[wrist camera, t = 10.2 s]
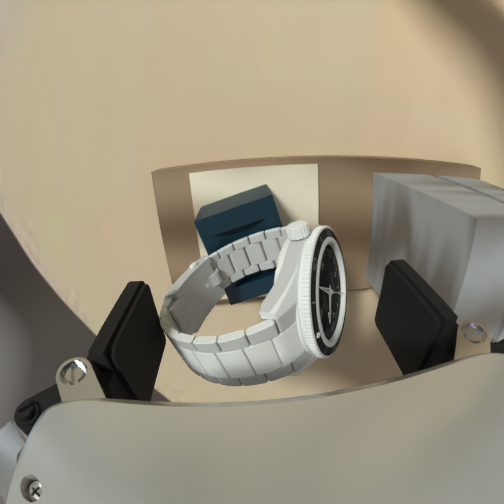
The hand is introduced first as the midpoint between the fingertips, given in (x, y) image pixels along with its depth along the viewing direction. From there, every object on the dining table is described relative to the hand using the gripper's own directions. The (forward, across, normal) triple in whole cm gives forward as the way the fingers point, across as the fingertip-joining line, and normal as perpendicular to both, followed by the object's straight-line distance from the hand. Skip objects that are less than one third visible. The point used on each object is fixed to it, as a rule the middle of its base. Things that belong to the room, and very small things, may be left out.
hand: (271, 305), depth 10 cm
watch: (+9, +1, 0) cm, 9 cm away
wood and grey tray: (+10, -6, +1) cm, 12 cm away
